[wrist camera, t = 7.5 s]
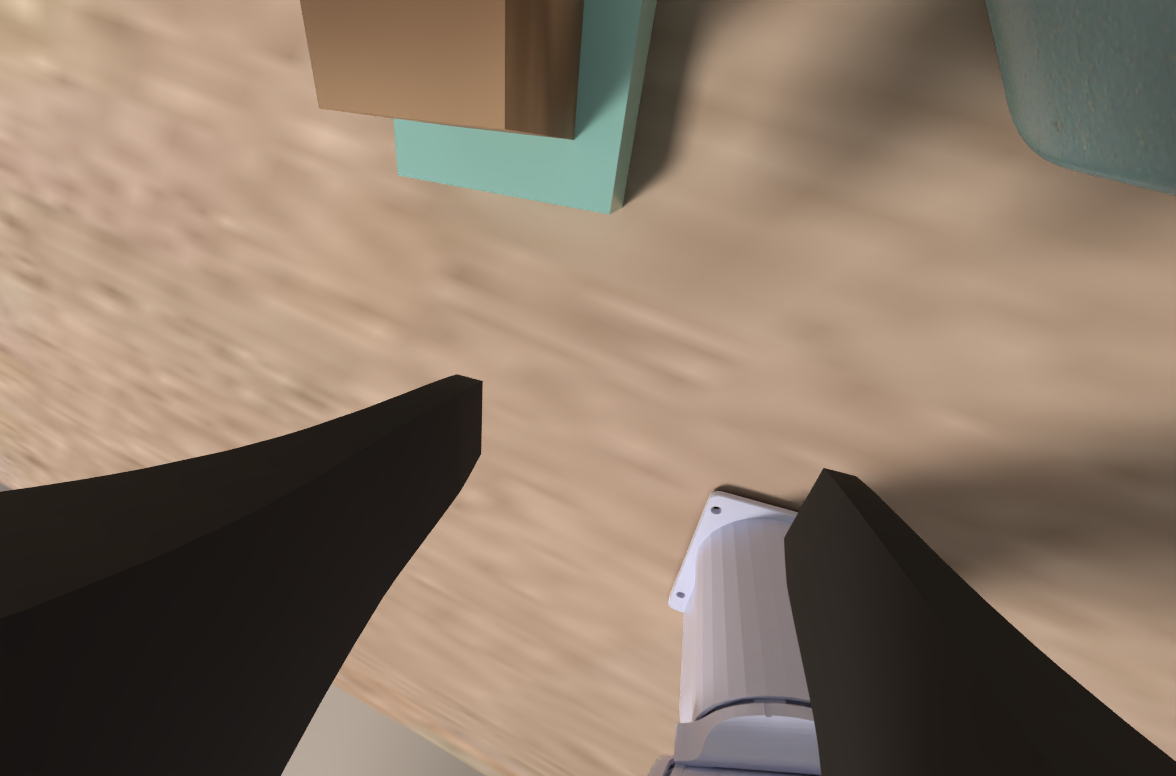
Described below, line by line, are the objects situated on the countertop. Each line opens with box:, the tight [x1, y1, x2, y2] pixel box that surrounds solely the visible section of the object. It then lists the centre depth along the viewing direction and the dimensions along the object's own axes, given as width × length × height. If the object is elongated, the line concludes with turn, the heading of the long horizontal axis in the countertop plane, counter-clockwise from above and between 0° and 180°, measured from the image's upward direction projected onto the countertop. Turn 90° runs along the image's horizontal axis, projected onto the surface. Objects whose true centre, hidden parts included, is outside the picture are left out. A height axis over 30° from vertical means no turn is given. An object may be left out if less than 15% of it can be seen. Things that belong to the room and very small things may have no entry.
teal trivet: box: [394, 0, 657, 214], centre depth 14 cm, size 8×8×3 cm
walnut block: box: [300, 0, 584, 140], centre depth 11 cm, size 4×4×6 cm
